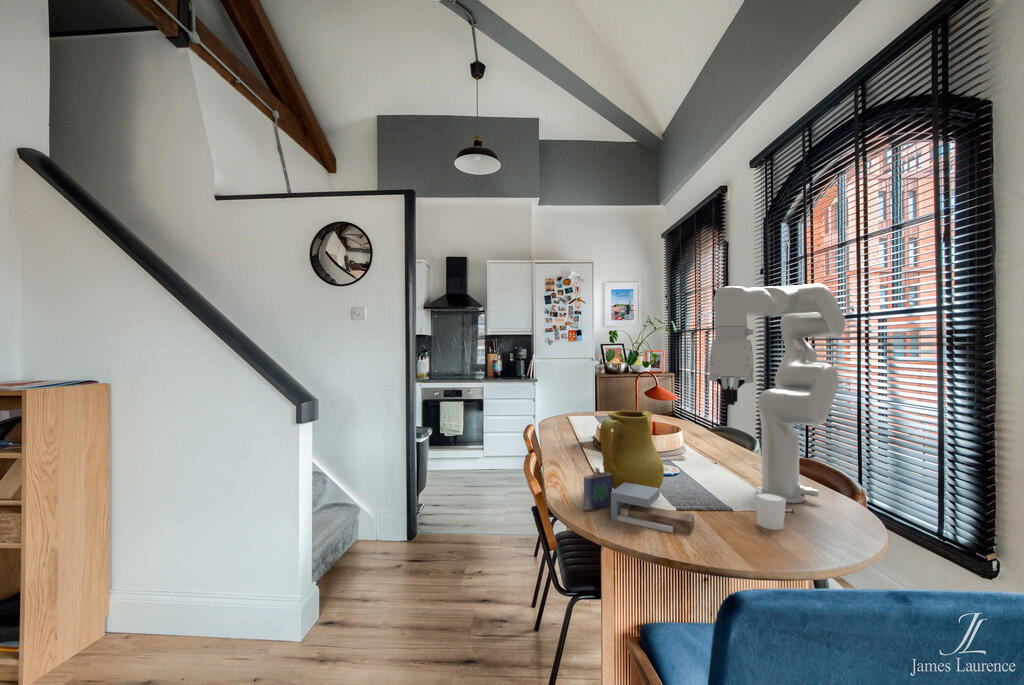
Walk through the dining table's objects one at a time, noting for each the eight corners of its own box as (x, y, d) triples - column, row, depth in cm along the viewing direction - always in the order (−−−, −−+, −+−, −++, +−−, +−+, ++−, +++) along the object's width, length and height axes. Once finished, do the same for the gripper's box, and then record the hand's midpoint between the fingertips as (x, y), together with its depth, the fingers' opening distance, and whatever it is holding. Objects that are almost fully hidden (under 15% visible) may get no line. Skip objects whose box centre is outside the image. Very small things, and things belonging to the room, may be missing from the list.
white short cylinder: (789, 532, 106) (789, 503, 106) (756, 528, 109) (756, 499, 109) (782, 521, 113) (782, 494, 113) (752, 518, 115) (752, 491, 115)
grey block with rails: (681, 519, 114) (681, 492, 114) (671, 533, 105) (671, 503, 105) (624, 507, 122) (624, 482, 122) (610, 519, 114) (610, 492, 114)
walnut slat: (694, 526, 110) (694, 514, 110) (691, 534, 105) (691, 521, 105) (625, 513, 118) (625, 502, 118) (619, 519, 114) (619, 508, 114)
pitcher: (674, 505, 123) (669, 413, 124) (606, 507, 124) (601, 416, 125) (655, 487, 140) (651, 407, 141) (596, 489, 141) (592, 409, 142)
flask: (587, 512, 119) (587, 472, 119) (580, 508, 121) (580, 469, 121) (614, 507, 123) (614, 467, 123) (607, 503, 125) (607, 465, 125)
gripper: (764, 334, 116) (764, 405, 116) (703, 334, 124) (702, 400, 124) (762, 333, 110) (762, 408, 109) (697, 334, 118) (697, 403, 118)
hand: (730, 404), depth 117 cm, fingers closed
